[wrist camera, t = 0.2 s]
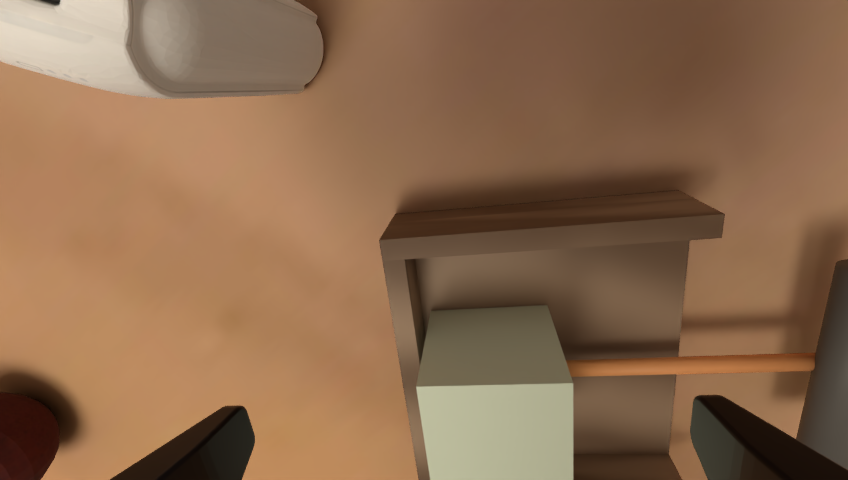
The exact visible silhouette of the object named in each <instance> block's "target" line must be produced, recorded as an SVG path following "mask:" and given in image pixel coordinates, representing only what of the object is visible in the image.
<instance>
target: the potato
mask: <svg viewBox="0 0 848 480" xmlns="http://www.w3.org/2000/svg"><path fill="white" fill-rule="evenodd" d="M59 435H60V430H59V427H58V423H57V420H56V418H55V417H54V415H53V414H52V412H51V411H50V409H48V408H47V407H46V406H44V405H43V404H42V403H40V402H39V401H37V400H34V399H32V398H29V397H27V396H25V395H22V394H13V393H3V392H0V480H40V479H41V478H42V477H43V476H44V474H45V472H46V471H47V469H48V468H49V466H50V464H51V463H52V461H53V460H54V458H55V455H56V452H57V450H58V447H59Z"/></svg>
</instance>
